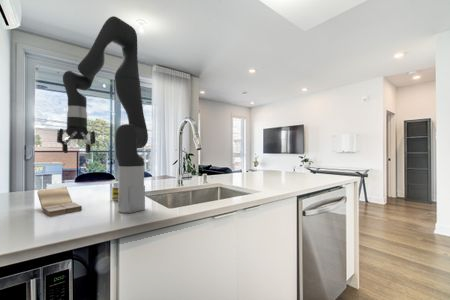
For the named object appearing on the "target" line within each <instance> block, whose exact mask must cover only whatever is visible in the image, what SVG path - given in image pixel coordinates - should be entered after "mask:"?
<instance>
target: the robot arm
mask: <svg viewBox="0 0 450 300" xmlns="http://www.w3.org/2000/svg"><path fill="white" fill-rule="evenodd" d="M111 43H113V44H115V45H117V46H119V47H120V48H121V51H122V61H121V63H120V65H119V66H118V67H117V69H116V71H115V74H114V86H115V87H114V88H115V92H116V96H117V98H118V100H119V102H120V104H121V105H122V108H123V109H124V111H125V113H126V116H127V119H128V123H124V124H121V125H119V127H118V128H117V129H116V131H115V138H114V141H115V143H114V144H115V159H116V160H117V164H118V166H117V167H118V168H117V169H118V172H117V175H118V176H117V177H118V178H117V180H118V200H117V201H118V202H117V203H118V205H117V209H118V210H117V211H118V212H119V213H124V214H133V213H136V212H140V211H145V210H146V186H145V159H144V158H143V157H141V156H140V155H139V153H138V149H143V148H144V147H146V145H147V144H148V139H149V133H148V128H147V123H146V119H145V114H144V109H143V108H144V107H143V100H142V90H141V89H142V88H141V79H140V74H139V61H138V33H137V31H136V30H135V28H133V26H131V25H130V24H129V23H127V22H126V21H124V20H123V19H120V18H119V17H117V16H115V15H114V16H110V17H108V18H107V19H106V20H105V22H104V23H103V25H102V27H101V29H100V31H99V32H98V34H97V36H96V38H95V40H94V43H93V44H92V46H91V48H90V49H89V51H88V53H87V54H86V55H85V56H84V58H83V59H82V60H81V61H80V62H79V63H78V65H77V70H78V72H76V71H72V70H67V71H65V72H64V73H63V75H62V82H63V83H62V84H63V86H64V89H65V92H66V96H67V109H66V128H65V129H63V128H58V129H57V135H56V138H57V139H56V143H58V144H60V145H62V149H61V151H62V152H63V153H64V154H68V147H69V145H68V143H69V142H70V141H72V140H79V141H81V140H82V141H83V142H84V143H85V154H89V153H90V152H91V149H92V147H91V146H92V145H95V143H96V132H95V131H94V130H88V109H87V102H88V101H87V100H88V99H87V97H86V95H84V94H82V93H80V92H79V91H78V90H80V91H88V90H89V89H90V88H92V85H93V81H94V80H95V77H96V75H98V73H99V72H100V71H101V70H102V69H103V67H104V66H105V63H106V62H105V60H106V49H107V47H108V46H109V45H110V44H111ZM64 134H66V135H67V136H66V137H65V138H64V137H63V136H64ZM88 136H89V138H88ZM63 138H64V139H63Z"/></svg>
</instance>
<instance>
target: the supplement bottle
mask: <svg viewBox="0 0 450 300" xmlns="http://www.w3.org/2000/svg"><path fill="white" fill-rule="evenodd" d="M112 183H113V184H112V185H113V186H112V188H111V191H112V192H111V193H112V194H111V200H112V201H115V202H116V201H118V181H113V182H112Z"/></svg>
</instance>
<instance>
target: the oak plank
mask: <svg viewBox="0 0 450 300" xmlns="http://www.w3.org/2000/svg"><path fill="white" fill-rule="evenodd" d="M37 197H38V200H39V203H40V208H41V210H42V211H43V207H47V206H53V205H59V204H65V203H71V202H73V200H72V198H71V194H70V193H69V189H68V188H67V186H65V187H64V186H63V187H54V188H47V189H38V190H37Z"/></svg>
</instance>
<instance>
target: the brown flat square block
mask: <svg viewBox="0 0 450 300" xmlns="http://www.w3.org/2000/svg"><path fill="white" fill-rule="evenodd" d="M82 209H83V207H82V205H80V204H78V203H76V202H73V201H72V202H71V203H65V204H59V205H53V206H47V207H43V210H42V212H43V213H44V214H46V215H47V216H49V217H54V216H58V215H59V216H60V215H65V214H69V213H74V212H79V211H82Z"/></svg>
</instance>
